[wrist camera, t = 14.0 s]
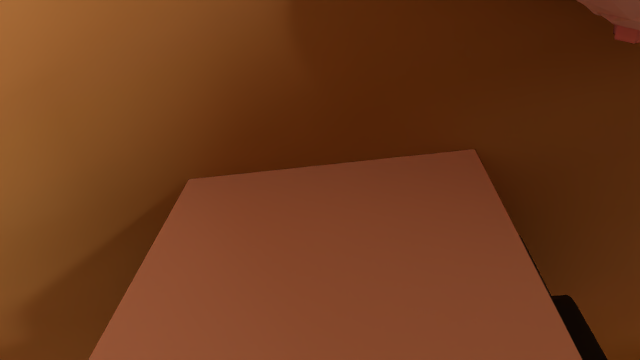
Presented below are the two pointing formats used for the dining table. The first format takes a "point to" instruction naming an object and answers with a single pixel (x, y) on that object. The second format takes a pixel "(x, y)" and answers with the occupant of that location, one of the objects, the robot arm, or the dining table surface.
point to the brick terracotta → (339, 270)
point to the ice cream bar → (619, 16)
